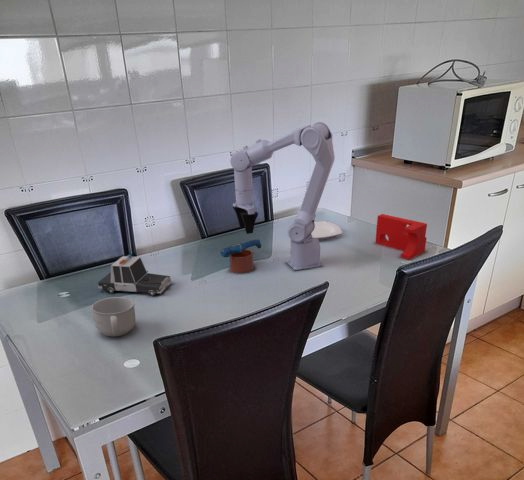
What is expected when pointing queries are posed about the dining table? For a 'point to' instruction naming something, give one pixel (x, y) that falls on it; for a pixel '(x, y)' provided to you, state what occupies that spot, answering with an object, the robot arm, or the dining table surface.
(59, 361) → the dining table surface
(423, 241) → the bracket
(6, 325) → the dining table surface
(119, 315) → the teacup
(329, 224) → the plate
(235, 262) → the cup
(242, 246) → the figurine
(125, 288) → the toy car
